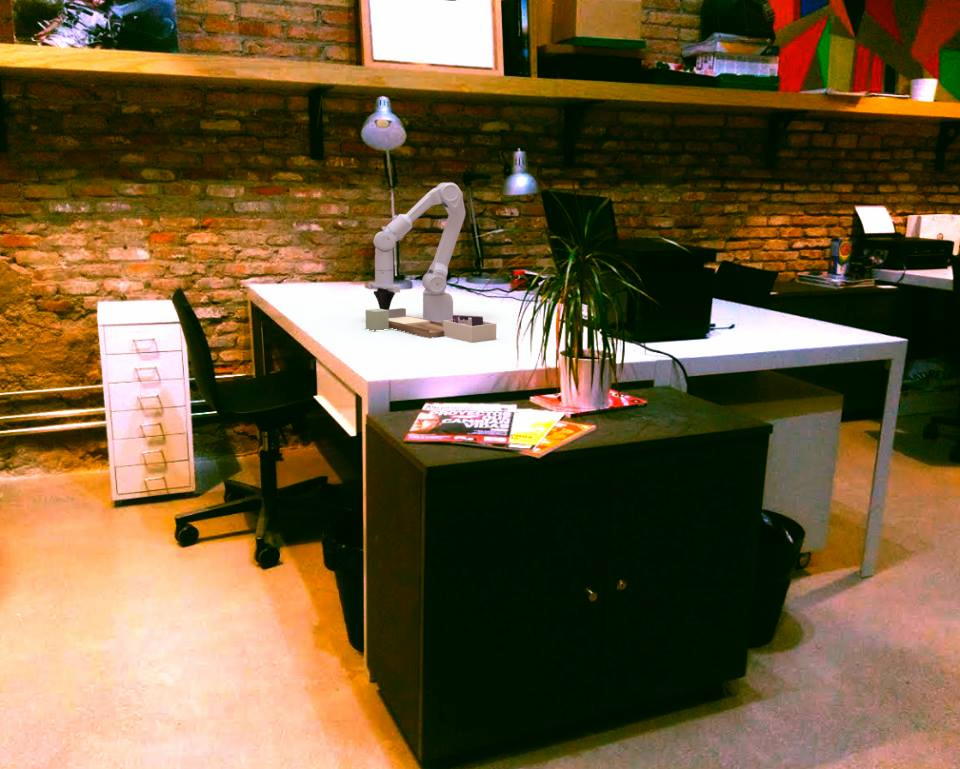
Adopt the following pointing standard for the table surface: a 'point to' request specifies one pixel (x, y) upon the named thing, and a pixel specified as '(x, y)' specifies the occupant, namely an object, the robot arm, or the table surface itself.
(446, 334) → the beige open box
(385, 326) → the sage block
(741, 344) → the table surface
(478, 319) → the black piece
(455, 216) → the robot arm
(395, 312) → the lid
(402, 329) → the board
